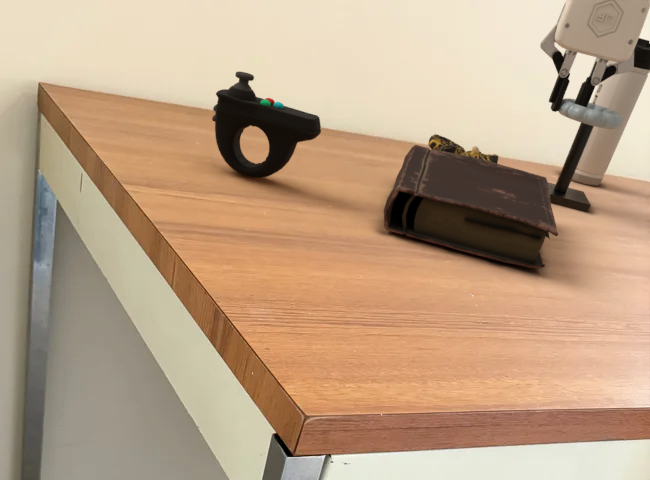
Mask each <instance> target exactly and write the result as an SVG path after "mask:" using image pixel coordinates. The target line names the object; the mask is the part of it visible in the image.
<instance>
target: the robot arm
mask: <svg viewBox="0 0 650 480" xmlns="http://www.w3.org/2000/svg"><path fill="white" fill-rule="evenodd" d="M649 11H650V0H565V2H564V5H563V6H562V8H561V12H560V14H559V17H558V18H557V22H556V24H555V25H554V26H553V27H552V28H551V30H550V31H549V32H548V34H546V36H545V37H544V38H543V39H542V41H541V42H540V44H539V48H540V49H541V50H542V51H543V52H544V53H545V54H546V55H547V56H548V57H549V58H550V59H551V60H552V63H553V65H554V67H555V70H556V72H557V78H556V80H555V83H554V85H553V88H552V90H551V93H550V96H549V98H548V103H550V104H551V105H550V110H551V111H552V112H554V113H556V112H559V111H558V110H559V108H560V105H561V102H562V100H563V99H564V97H565V95H566V92H567V90H568V87H569V84H570V81H571V80H570V79H569V78H570V76H571V73H570V72H571V69H572V66H573V65H574V62H575V59H576V57H577V55H578V54H582V55H585V56H590V57H594V58H595V60H594V63H593V65H592V68H591V70H590V73H589V75H588V76H587V77H586V79H585V81H583V82H582V83H581V85H580V88H579V90H578V92H577V95H576V98H575V99H576V100H575V104H577V105H580V106H583V107H586V108H587V106H588V103H590V100H591V98H592V96H593V93H594V91H595V89H596V87H598V85H599V84H600V83H601V82H603V81H604V80H606V79H608V78H609V77H611V76H613V75H616V74H621V73H626V72H630V71H632V70H633V68H634V48H635V46H636V44H637V41H638V39H639V38H640V36H641V33H642V30H643V28H644V25H645V23H646V20H647V17H648V14H649ZM556 44H557V45H558V46H559V47H561V48H562V49H565V50H564V53H562V52H561V51H560V50H559V49H558V48H557V47H556V46H555V45H556ZM608 61H614V62H619V63H615V64H609V65H607V64H608Z"/></svg>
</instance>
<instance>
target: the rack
mask: <svg viewBox="0 0 650 480" xmlns="http://www.w3.org/2000/svg"><path fill="white" fill-rule="evenodd" d="M593 127H594V126H592V125H588V124H584V123H581V122H580V124H579V126H578V128H577V131H576V134H575V136H574V139H573V142H572V144H571V146H570V149H569V151H568V154H567V156H566V159H565V160H564V164H563V166H562V168H561V170H560V172H559V176H558V177H557V180H556V183H552V182H548V181H547V182H548V186H549V190H550V200H551V204H556V205H559V206H562V207H566V208H570V209H574V210H578V211H582V212H586V213H588V212H589V211H590V208H591V206H592V205H591V203H590V201H589V198H588V197H587V195H586V193H585V191H583V190H579V189H575V188H572V187H570V185H571V182H572V181H573V180H572V178H573V175H574V173H575V170H576V168H577V166H578V163H579V161H580V158H581V156H582V154H583V151H584V149H585V146H586V144H587V142H588V139H589V137H590V134H591V132H592V130H593Z"/></svg>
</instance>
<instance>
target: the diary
mask: <svg viewBox="0 0 650 480" xmlns="http://www.w3.org/2000/svg"><path fill="white" fill-rule="evenodd" d="M383 227H384V229H385V231H387V232H391V233H395V234H400V235H405V236H406V237H410V238H414V239H417V240H420V241H424V242H428V243H432V244H435V245H439V246H442V247H447V248H450V249H453V250H457V251H460V252H464V253H467V254H471V255H476V256H479V257H481V258H486V259H490V260H493V261H497V262H501V263H505V264H512V265H516V266H520V267H526V268H529V269H543V268H545V267H546V264H544V263H543V260H542V255H541V252H540V251H541V249H542V247H543V244H544V241H545V240H546V238H547V239H549V240H550V239H551V237H550V234H551V235H553V236H555V237H558V236H559V232H558V227H557V223H556V219H555V216H554V211H553V207H552V203H551V200H550V190H549V186H548V180H547V177H546V176H542V175H539V174H536V173H533V172H528V171H525V170H523V169H518V168H515V167H512V166H507V165H503V164H500V163H498V162H497V163H493V162H489V161H486V160H482V159H478V158H473V157H468V156H464V155H459V154H454V153H450V152H445V151H439V150H434V149H431V148H430V147H426V146H423V145H418V144H414V145H413V146H412V147H411V148H410V149H409V150H408V152H407V153H406V155H405V156H404V159H403V162H402V166H401V168H400V169H399V172H398V173H397V175H396V177H395V181H394V184H393V187H392V190H391V191H390V193H389V195H388V196H387V199H386V202H385V205H384V209H383Z"/></svg>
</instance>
